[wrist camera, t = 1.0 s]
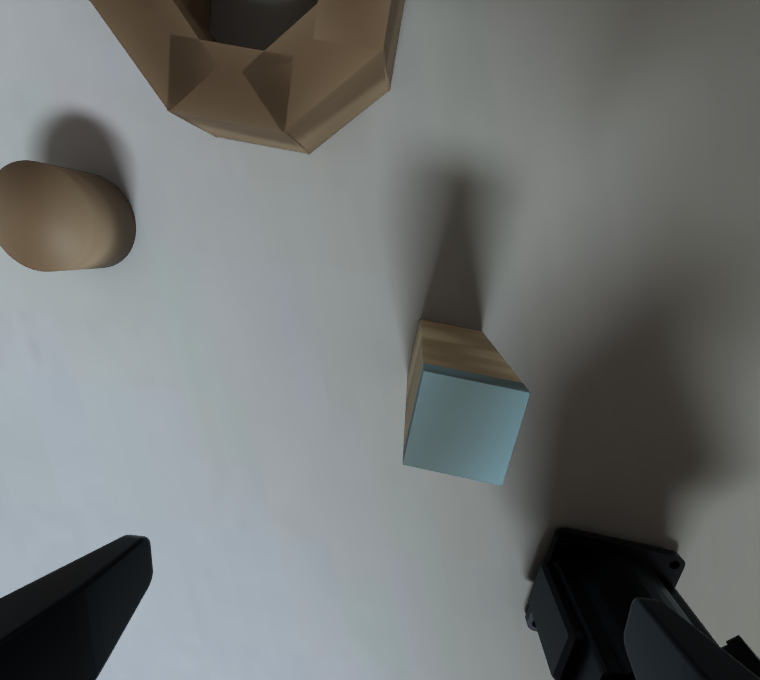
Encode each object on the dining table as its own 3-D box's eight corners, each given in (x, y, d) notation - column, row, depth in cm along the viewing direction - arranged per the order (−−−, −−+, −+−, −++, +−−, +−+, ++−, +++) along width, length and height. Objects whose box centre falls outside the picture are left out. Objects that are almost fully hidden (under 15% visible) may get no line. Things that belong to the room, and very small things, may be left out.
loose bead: (138, 183, 18) (86, 171, 16) (135, 275, 20) (86, 280, 17) (50, 165, 19) (-18, 151, 16) (52, 258, 20) (-11, 260, 17)
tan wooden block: (481, 331, 19) (530, 392, 11) (466, 389, 19) (502, 485, 12) (420, 318, 19) (423, 371, 11) (407, 376, 19) (402, 464, 12)
